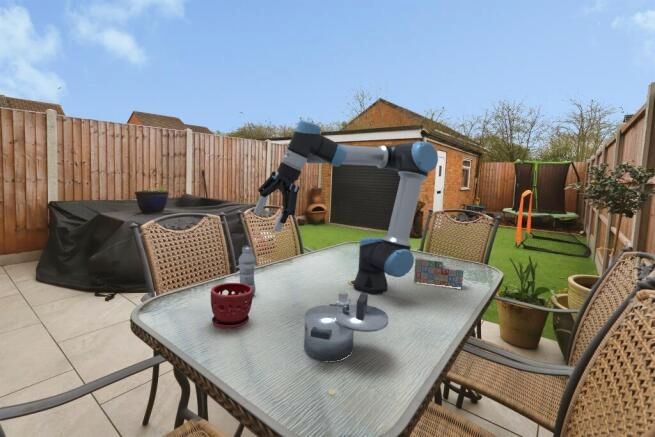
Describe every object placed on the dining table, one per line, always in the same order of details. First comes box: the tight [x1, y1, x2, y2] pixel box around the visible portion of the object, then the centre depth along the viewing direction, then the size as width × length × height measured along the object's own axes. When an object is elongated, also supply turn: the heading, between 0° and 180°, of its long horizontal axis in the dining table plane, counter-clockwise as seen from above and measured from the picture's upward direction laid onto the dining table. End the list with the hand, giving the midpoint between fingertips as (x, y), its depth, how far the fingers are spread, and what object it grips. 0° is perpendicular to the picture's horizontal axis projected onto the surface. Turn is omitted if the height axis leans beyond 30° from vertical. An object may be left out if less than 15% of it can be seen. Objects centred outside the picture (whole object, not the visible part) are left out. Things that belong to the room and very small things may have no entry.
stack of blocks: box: [413, 255, 464, 289], centre depth 152 cm, size 21×6×12 cm, turn 70°
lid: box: [335, 292, 389, 333], centre depth 88 cm, size 15×15×6 cm
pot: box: [303, 303, 355, 363], centre depth 92 cm, size 14×19×10 cm
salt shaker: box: [334, 290, 351, 306], centre depth 112 cm, size 4×4×10 cm
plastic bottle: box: [238, 245, 256, 296], centre depth 129 cm, size 6×7×20 cm
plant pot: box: [210, 282, 254, 330], centre depth 105 cm, size 13×13×12 cm
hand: (266, 221), depth 112 cm, fingers open, 13 cm apart
